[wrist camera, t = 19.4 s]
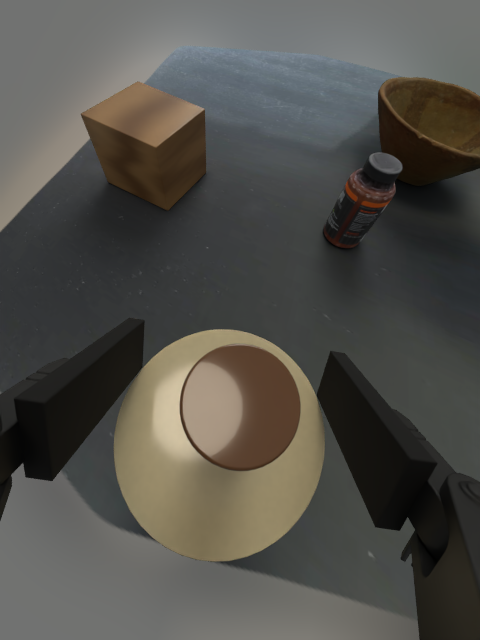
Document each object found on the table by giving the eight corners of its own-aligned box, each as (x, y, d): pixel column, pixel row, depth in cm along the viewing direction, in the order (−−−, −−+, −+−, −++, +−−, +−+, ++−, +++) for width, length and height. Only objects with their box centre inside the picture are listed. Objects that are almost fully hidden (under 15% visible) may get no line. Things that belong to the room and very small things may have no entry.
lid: (84, 395, 13) (-104, 326, 5) (247, 304, 16) (280, 183, 9) (182, 628, 9) (68, 1376, 2) (361, 454, 13) (577, 471, 5)
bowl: (359, 203, 42) (399, 140, 33) (343, 129, 52) (371, 65, 43) (478, 220, 44) (547, 163, 35) (440, 144, 54) (486, 85, 45)
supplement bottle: (367, 243, 38) (423, 173, 28) (337, 255, 37) (385, 184, 26) (343, 217, 40) (388, 143, 30) (314, 227, 39) (351, 151, 29)
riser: (107, 182, 38) (80, 113, 30) (151, 148, 43) (137, 81, 35) (168, 211, 37) (155, 147, 29) (206, 172, 42) (205, 108, 34)
